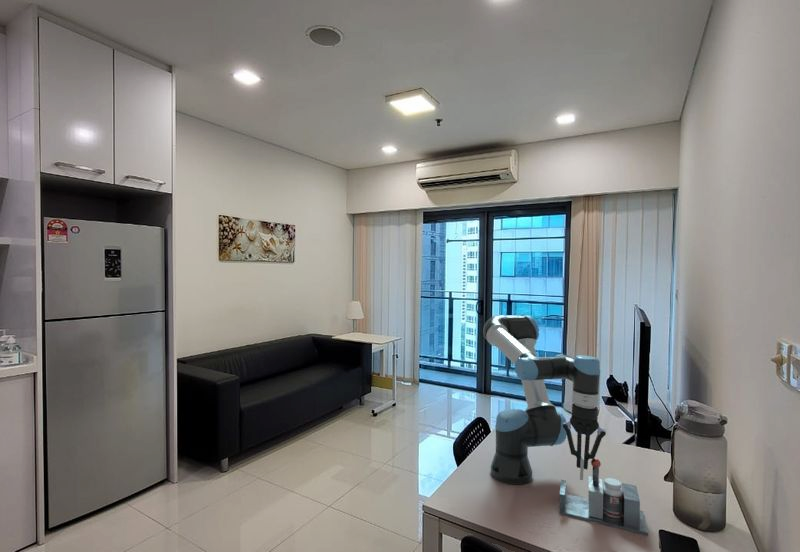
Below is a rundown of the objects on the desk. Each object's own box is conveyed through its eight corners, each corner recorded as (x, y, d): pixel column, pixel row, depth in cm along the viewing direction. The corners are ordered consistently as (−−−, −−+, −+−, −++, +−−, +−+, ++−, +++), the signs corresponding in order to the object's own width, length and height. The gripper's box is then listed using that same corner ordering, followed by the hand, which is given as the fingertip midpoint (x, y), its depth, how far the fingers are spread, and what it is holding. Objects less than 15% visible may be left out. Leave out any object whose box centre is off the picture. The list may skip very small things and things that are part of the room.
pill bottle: (625, 520, 122) (625, 487, 122) (605, 517, 123) (605, 485, 123) (619, 509, 128) (619, 478, 128) (600, 507, 129) (600, 476, 129)
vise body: (559, 513, 127) (559, 485, 127) (561, 495, 137) (561, 469, 137) (648, 535, 116) (648, 505, 116) (642, 513, 127) (643, 485, 127)
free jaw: (588, 515, 124) (588, 464, 124) (588, 499, 133) (588, 451, 133) (602, 519, 122) (603, 466, 122) (601, 502, 131) (602, 453, 131)
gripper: (563, 404, 128) (559, 478, 128) (607, 411, 123) (603, 488, 123) (564, 398, 135) (561, 468, 135) (606, 405, 130) (603, 478, 130)
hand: (581, 478), depth 129 cm, fingers closed
